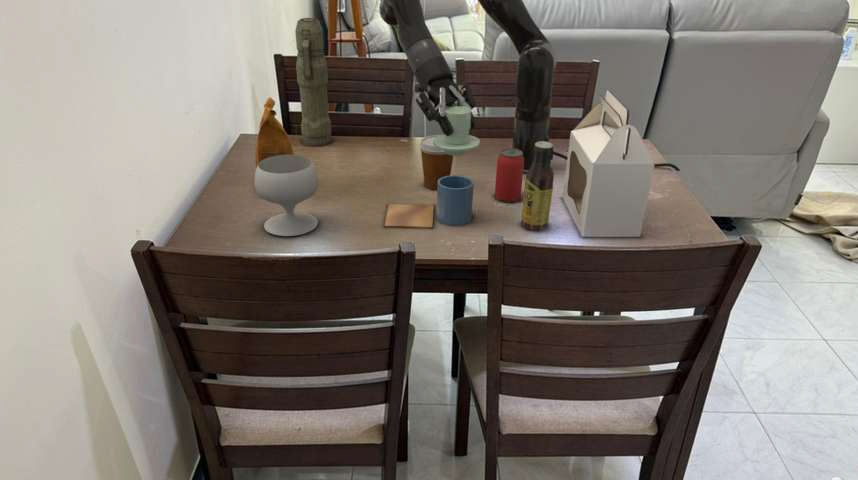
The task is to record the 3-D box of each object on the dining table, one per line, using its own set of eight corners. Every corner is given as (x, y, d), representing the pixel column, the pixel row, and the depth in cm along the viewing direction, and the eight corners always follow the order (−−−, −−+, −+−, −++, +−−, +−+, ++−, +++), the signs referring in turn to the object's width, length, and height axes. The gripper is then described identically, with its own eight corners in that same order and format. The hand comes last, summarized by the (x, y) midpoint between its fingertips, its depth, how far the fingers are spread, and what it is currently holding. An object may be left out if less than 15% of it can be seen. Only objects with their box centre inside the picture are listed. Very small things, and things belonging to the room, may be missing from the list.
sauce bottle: (518, 220, 158) (525, 138, 148) (544, 219, 158) (553, 138, 148) (524, 232, 152) (532, 148, 142) (551, 232, 153) (561, 148, 143)
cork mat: (433, 206, 164) (433, 205, 164) (432, 228, 154) (432, 226, 154) (388, 205, 165) (388, 203, 164) (384, 227, 154) (384, 225, 154)
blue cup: (471, 210, 162) (472, 175, 158) (472, 225, 155) (473, 189, 151) (437, 209, 163) (438, 174, 158) (436, 224, 156) (437, 188, 151)
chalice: (324, 236, 150) (319, 173, 142) (260, 242, 147) (252, 178, 140) (319, 210, 162) (314, 150, 154) (259, 215, 159) (252, 154, 151)
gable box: (561, 197, 169) (576, 85, 155) (613, 197, 170) (632, 86, 155) (582, 238, 150) (600, 114, 136) (640, 237, 151) (665, 114, 136)
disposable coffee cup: (451, 193, 171) (453, 148, 165) (415, 190, 173) (415, 145, 166) (457, 179, 179) (459, 136, 173) (422, 176, 181) (423, 133, 175)
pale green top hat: (478, 144, 155) (480, 103, 150) (480, 160, 146) (482, 117, 141) (433, 143, 155) (434, 102, 150) (432, 159, 146) (433, 116, 141)
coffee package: (297, 177, 180) (289, 94, 168) (297, 195, 169) (289, 109, 158) (259, 179, 178) (249, 96, 167) (257, 198, 168) (246, 111, 156)
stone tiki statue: (300, 148, 199) (289, 23, 181) (304, 135, 209) (294, 15, 191) (330, 147, 200) (322, 23, 182) (333, 134, 210) (325, 15, 192)
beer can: (523, 194, 171) (527, 149, 165) (517, 204, 166) (521, 158, 160) (497, 190, 173) (501, 146, 167) (491, 200, 168) (494, 154, 161)
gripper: (445, 70, 156) (477, 133, 154) (395, 79, 148) (428, 146, 146) (461, 50, 149) (495, 116, 147) (410, 59, 142) (444, 128, 140)
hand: (461, 130), depth 147 cm, fingers closed on pale green top hat, 6 cm apart
